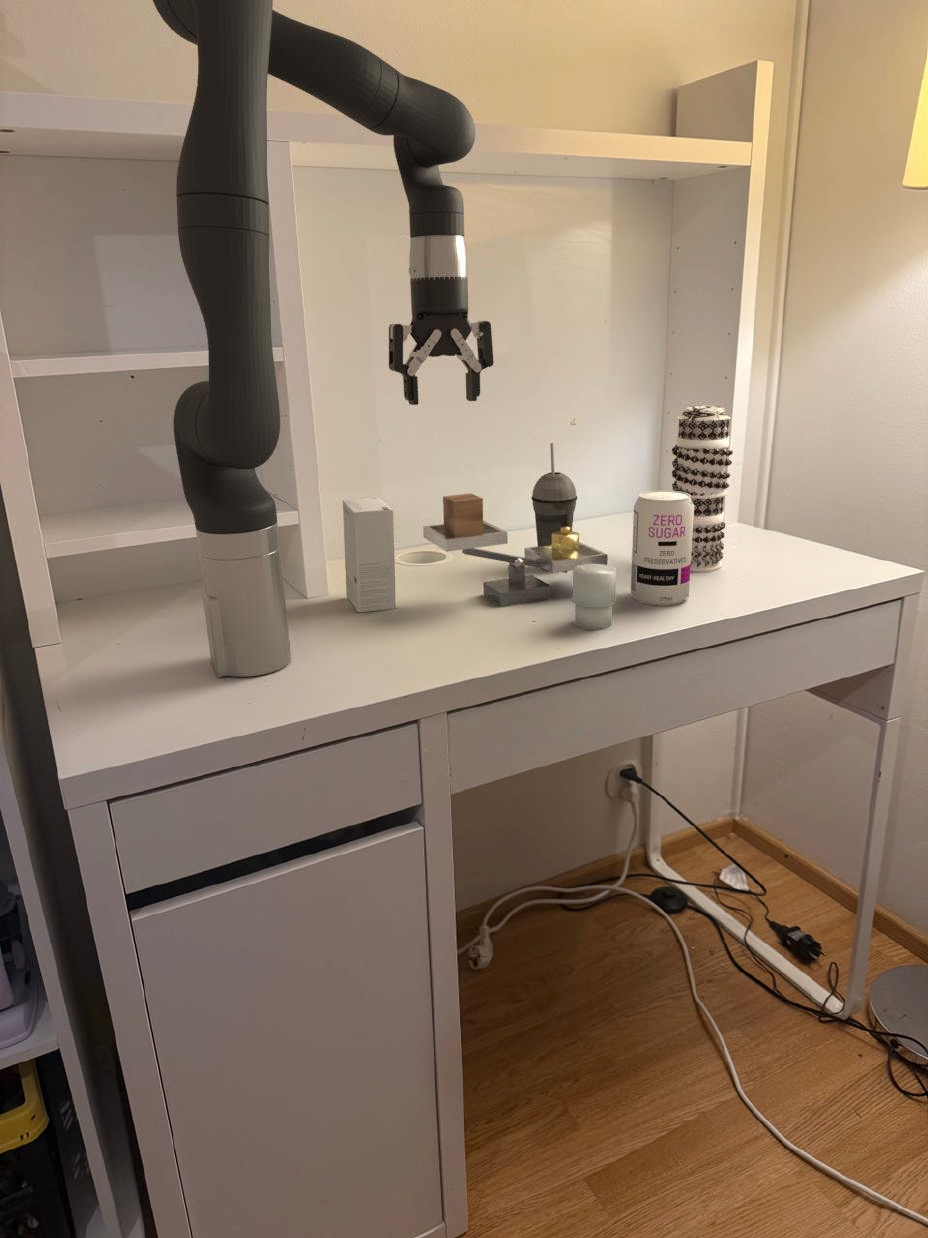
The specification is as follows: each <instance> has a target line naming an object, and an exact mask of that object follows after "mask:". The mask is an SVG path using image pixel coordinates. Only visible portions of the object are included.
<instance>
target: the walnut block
mask: <svg viewBox="0 0 928 1238" xmlns="http://www.w3.org/2000/svg"><path fill="white" fill-rule="evenodd" d="M483 502H484V500H483V498H482V497H480V496H477V495H475V494H474V493H470V492H469V493H461V494H451V495H444V496H442V509H443V510H442V511H443V524H444V535H445V536H447V537H449V538H457V537H465V536H473V535H481V534H483V521H484V503H483Z"/></svg>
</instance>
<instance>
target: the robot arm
mask: <svg viewBox="0 0 928 1238" xmlns="http://www.w3.org/2000/svg"><path fill="white" fill-rule="evenodd" d="M152 2H153V4H154V6H155V9H156V10H157V13H158V14H159V16H160V17H161V19H162V20H163V22H165V24H166V25H167V26H168V27H169V28H170V29H171V30H172V31H173V32H174V33H175V34H177V36H178V37H180V38H182V39H183V40H186V41H188V42H189V43H191V44H194V45H196V46H197V61H198V62H197V63H198V64H197V83H196V84H197V85H196V90H195V97H194V102H193V105H192V109H191V114H190V117H189V120H188V121H189V122H188V124H187V129H186V132H185V135H184V139H183V142H182V147H181V151H180V154H179V158H178V159H179V160H178V165H177V170H176V182H175V183H176V184H175V185H176V187H175V188H176V190H175V194H176V196H175V197H176V216H177V217H176V219H177V238H178V244H179V250H180V255H181V256H180V257H181V260H182V263H183V267H184V269H185V273H186V276H187V277H188V281H189V283H190V286H191V288H192V290H193V291H192V292H193V294H194V296H195V298H196V301H197V304H198V306H199V310H200V313H201V316H202V319H203V322H204V327H205V331H206V338H207V348H208V349H207V351H208V357H207V358H208V380H205V381H199V382H196V383H193V384H192V385H190V386H188V387H187V388H186V389H184V391H183V392H182V394H181V395H180V396H179V397H178V399H177V401H176V404H175V408H174V413H173V421H172V423H173V437H174V444H175V450H176V456H177V457H176V458H177V461H178V463H177V464H178V467H179V474H180V480H181V486H182V490H183V495H184V498H185V501H186V504H187V505H188V507H189V509H190V511H191V513H192V515H193V520H194V526H195V534H196V542H197V549H198V557H199V566H200V573H201V579H202V587H201V595H202V602H203V611H204V617H205V625H206V626H205V627H206V632H207V633H206V634H207V639H208V640H207V641H208V648H209V656H210V661H211V665H212V667H213V670H214V672H215V675H216V676H217V678H222V677H243V678H244V677H255V676H256V677H257V676H261V675H263V676H264V675H266V674H270V673H273V672H276V671H279V670H281V669H282V668H284V667H286V666H287V665H288V664H289V663H291V659H292V656H291V655H292V654H291V641H290V635H289V624H288V615H287V614H288V613H287V605H286V603H287V602H286V595H285V585H284V584H285V583H284V575H283V574H284V573H283V563H282V557H281V556H282V555H281V545H280V536H279V525H278V513H277V507H276V503H275V502H276V501H275V499H274V498H273V496H272V495H271V494H270V493H269V492H268V491H267V490H266V489H265V488H264V486H263V485H262V483H261V481H260V480H259V477H258V475H257V472H256V468H257V469H258V467H261V466H263V464H265V463H266V462H267V461H268V460H269V459H270V458H271V457H272V455H273V454H274V452H275V450H276V448H277V446H278V441H279V439H280V435H281V434H280V433H281V411H280V401H279V400H280V399H279V393H278V384H277V376H276V375H277V374H276V369H275V359H274V358H275V357H274V353H273V351H274V350H273V341H272V322H271V321H272V320H271V319H272V318H271V317H272V315H271V314H272V313H271V286H270V285H271V284H270V283H271V282H270V206H269V205H270V202H269V186H268V119H267V118H268V115H267V114H268V113H267V112H268V111H267V108H268V104H267V103H268V102H267V99H268V98H267V95H268V94H267V92H268V78H269V77H268V76H272V77H274V78H276V79H279V80H280V81H282V82H285V83H287V84H289V85H291V86H292V87H295V88H297V89H299V90H300V91H303V92H305V93H306V94H309V95H310V96H312V97H314V98H316V99H318V100H319V101H321V102H323V103H324V104H326V105H328V106H330V107H332V108H333V109H335V110H336V111H337V112H339V113H341V114H343V115H344V116H346V117H348V118H349V119H350V120H353V121H354V122H355V123H357V124H359V125H361V126H362V127H363V128H366V129H367V130H369V131H370V132H373V133H375V134H377V135H381V136H393V139H392V140H393V142H392V143H393V150H394V155H395V159H396V163H397V164H396V165H397V168H398V170H399V174H400V178H401V182H402V185H403V186H402V187H403V189H404V192H405V193H404V194H405V195H406V198H407V203H408V211H409V212H408V214H409V216H408V217H409V218H408V219H409V220H408V221H409V237H410V239H409V241H410V242H409V256H408V257H409V258H408V260H409V263H408V264H409V266H408V275H409V284H410V285H409V286H410V307H411V308H410V309H411V322H410V324H408V325H407V324H402V323H391V324H389V326H388V369H389V370H390V371H393V372H395V373H399V374H401V376H402V380H403V383H402V384H403V397H404V399H405V401H408V404H409V405H410V406H417V405H419V386H418V384H419V382H418V376H416V374H417V372H418V370H420V367H421V365H422V364H423V363H424V362H425V361H426V360H427V358H428V357H431V358H433V357H435V358H437V357H438V358H439V357H441V356H443V357H444V356H445V357H447V356H449V357H455V356H456V358H457V359H458V360H459V361H460V362H461V363H462V364H463V365H464V367H465V369H467V372H466V373H465V396H466V397H465V399H466V401H468V402H477V400H478V397H480V395H481V372H482V371H483V370H485V369H487V368H491V367H492V366H493V365H494V348H493V335H492V324H491V322H490V321H488V320H479V321H476V322H471V321H470V320H469V293H468V292H469V291H468V290H469V289H468V285H469V283H468V259H467V258H468V257H467V256H468V255H467V248H466V241H465V211H464V210H465V208H464V207H465V206H464V205H465V204H464V199H463V194H462V192H461V191H460V190H459V188H457V187H454V186H451V185H446V184H444V183H443V180H442V179H443V178H442V177H441V173H440V169H439V166H441V165H446V164H452V163H456V162H458V161H460V160H462V159H464V158H465V157H466V156H467V155H468V154H469V153H470V152H471V150H472V148H473V147H474V144H475V139H476V126H475V122H474V119H473V116H472V113H470V111H469V109H468V108H467V106H466V105H465V104H464V102H462V101H461V100H460V99H459V98H458V97H456V96H455V95H453V94H452V93H451V92H448V91H446V90H444V89H442V88H439V87H437V86H435V85H432V84H430V83H427V82H426V81H425V82H424V81H422V80H420V79H416V78H413V77H410V76H407V75H404V74H402V73H401V72H400V71H399V70H397V69H396V68H394V67H393V66H392V65H391V64H389V63H388V62H387V61H385V60H383V59H382V58H381V57H379V56H378V55H377V54H374V53H373V52H372V51H371V50H369V49H367V48H365V47H364V46H363V45H361V44H359V43H357V42H355V41H353V40H351V39H348V38H346V37H344V36H341V35H339V34H336V33H332V32H330V31H327V30H323V29H320V28H318V27H315V26H312V25H309V24H306V23H303V22H301V21H297V20H295V19H293V18H290V17H289V16H286V15H285V14H282V13H280V12H278V11H276V10H274V9H273V5H274V4H273V3H274V0H152ZM471 333H472V334H473V337H474V338H475V339H476V345H477V349H476V350H477V357H476V356H475V353H474V352H473V350H472V348H471V347H470V346H469V344H468V343H467V342H466V340H467V339H468V338H469V336H470V334H471ZM408 336H411V337H412V339H413V341H414V342H415V345H414V346H413V348H412V350H411V351H410V353H409V355H408V358H407V360H406V361H405V363H404V342H406V341H407V339H408Z"/></svg>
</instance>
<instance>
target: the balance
mask: <svg viewBox="0 0 928 1238" xmlns="http://www.w3.org/2000/svg"><path fill="white" fill-rule="evenodd" d="M422 527H423V528H422V529H423V538H424V539H426V540H427V541H429V542H431V543H432V544H434V545H435V546H437V547H438V548H440V549H442V550H443V551H445V552H453V551H461V554H464V555H465V556H466V555H467V556H471V557H477V558H482V559H488V560H494V561H499V562H506V563H508V564H507V566H508V567H507V568H508V571H507V572H508V574H507V575H508V576H507V578H502V579H497V580H495V579H494V580H490V581H484V582H483V596H484V595H485V596H484V597H485V598H487V597H488V598H487V599H489V600H490V599H491V600H490V601H491V602H493V603H495V604H496V605H498V606H499V607H505V606H506V605H507V606H512V605H511V604H514V605H518V604H517V603H520V604H524V603H525V602H526V603H531V602H538V601H539V602H540V601H543V600H551V597H552V596H551V591H552V590H551V586H552V585H551V584H549V583H547V582H545V581H544V580H542V579H540V578H538V577H536V576H534V575H533V574H531V575H526V566H527V567H532V568H538V569H540V568H542V569H546V570H547V571H546V572H548V571H549V572H548V573H551V574H557V573H565V574H567V573H568V572H570V571H573V568H574V567H576V566H579V565H584V564H604V565H608V559H609V558H608V557H609V556H608V554H607V553H605V552H603V551H601V550H598V549H596V548H593V547H591V546H589V545H588V544H585V543H582V542H580V533H579V532H577V531H573V530H572V531H570V527H568V526H563V527H561V531H557V532H554V533H552V544H551V545H544V546H538V545H536V546H530V547H524V556H523V557H522V556H517V555H512V554H506V553H501V552H495V551H490V550H485V549H479V548H483V547H485V548H486V547H491V546H499V545H508V539H509V538H508V532H507V531H506V530H503V529H502V528H499V527H497V526H495V524H494V525H493V524H492V523H490V522H487V521H485V520H483V534H481V535H473V536H465V537H457V538H449V537H447V536H445V535H444V523H440V524H431V525H423V526H422Z"/></svg>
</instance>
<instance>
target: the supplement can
mask: <svg viewBox="0 0 928 1238" xmlns="http://www.w3.org/2000/svg"><path fill="white" fill-rule="evenodd" d="M693 518H694V504H693V502H692V500H691V498H690V495H689V494H688V493H684V492H679V491H673V490H661V489H660V490H649V491H643V492H641V493H639V494H638V498H637V500H636V501H635V502H634V505H633V519H632V520H633V521H632V522H633V523H632V525H633V526H632V551H631V574H630V575H631V577H630V578H631V579H630V584H631V585H630V594H631V596H633V597H634V600H636V601H637V602H639V603H642V604H644V605H645V604H646V605H649V606H664V607H665V606H675V605H679V604H682V603H683V602H684V601H685V600H686V599H687V598H689V597H690V584H691V583H690V581H691V571H690V568H691V551H692V535H693Z"/></svg>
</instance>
